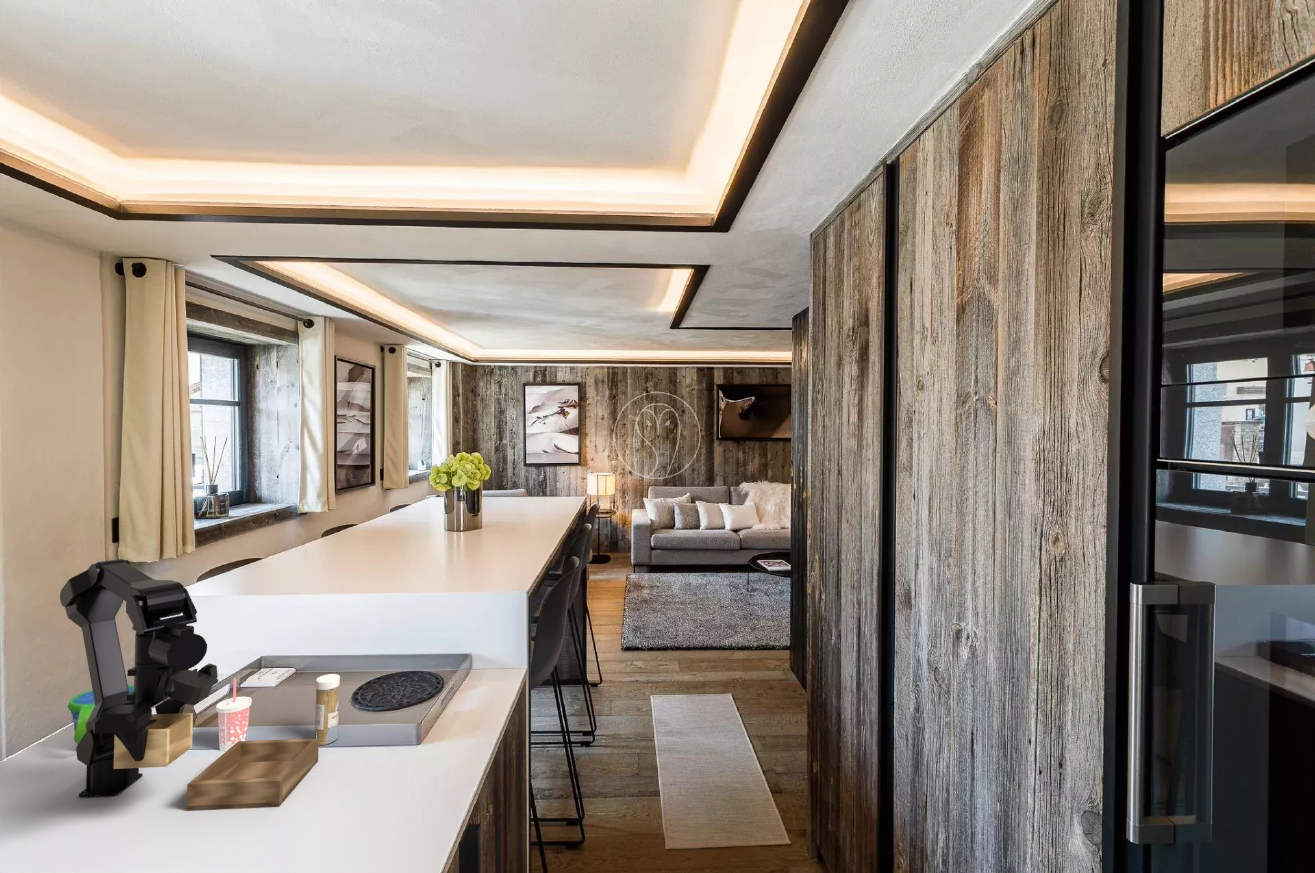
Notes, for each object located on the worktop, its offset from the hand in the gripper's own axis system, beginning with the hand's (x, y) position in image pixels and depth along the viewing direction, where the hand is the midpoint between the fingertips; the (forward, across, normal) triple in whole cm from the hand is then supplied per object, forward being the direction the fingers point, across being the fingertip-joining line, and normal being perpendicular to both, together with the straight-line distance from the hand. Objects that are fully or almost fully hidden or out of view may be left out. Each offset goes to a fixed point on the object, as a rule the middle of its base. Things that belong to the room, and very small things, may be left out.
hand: (154, 750), depth 103 cm
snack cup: (+11, +26, +27) cm, 38 cm away
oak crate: (+1, 0, 0) cm, 1 cm away
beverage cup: (+11, +23, 0) cm, 25 cm away
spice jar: (+11, +24, -18) cm, 32 cm away
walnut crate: (+11, +8, -13) cm, 18 cm away
